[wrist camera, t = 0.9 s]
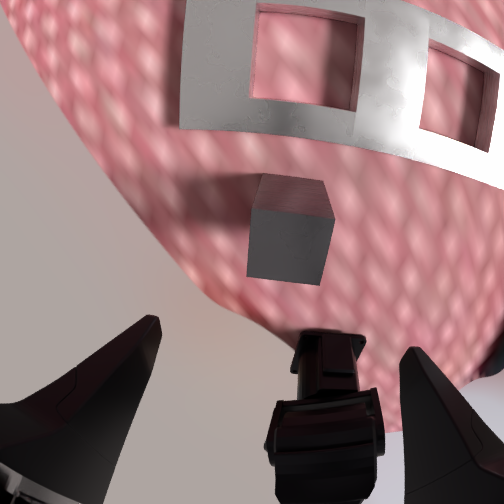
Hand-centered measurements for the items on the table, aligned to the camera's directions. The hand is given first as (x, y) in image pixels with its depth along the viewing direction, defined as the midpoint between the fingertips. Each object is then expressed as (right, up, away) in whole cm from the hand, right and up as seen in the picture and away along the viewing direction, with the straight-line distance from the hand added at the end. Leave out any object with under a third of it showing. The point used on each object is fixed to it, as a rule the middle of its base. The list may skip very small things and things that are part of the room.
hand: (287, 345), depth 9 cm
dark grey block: (+1, +6, +10) cm, 12 cm away
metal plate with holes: (+7, +14, +5) cm, 16 cm away
